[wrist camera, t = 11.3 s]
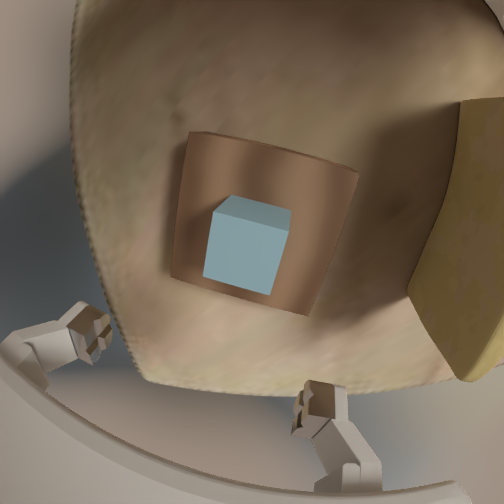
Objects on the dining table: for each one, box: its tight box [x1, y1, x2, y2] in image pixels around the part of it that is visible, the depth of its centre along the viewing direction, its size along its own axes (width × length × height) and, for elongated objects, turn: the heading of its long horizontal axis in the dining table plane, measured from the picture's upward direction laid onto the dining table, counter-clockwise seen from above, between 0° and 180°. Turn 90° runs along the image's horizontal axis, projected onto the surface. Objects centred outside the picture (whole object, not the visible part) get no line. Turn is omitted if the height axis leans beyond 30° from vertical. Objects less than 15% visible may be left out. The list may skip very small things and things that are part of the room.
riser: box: [171, 132, 360, 316], centre depth 25 cm, size 14×14×4 cm
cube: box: [203, 195, 291, 295], centre depth 21 cm, size 5×5×5 cm
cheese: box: [407, 97, 504, 382], centre depth 16 cm, size 22×10×15 cm, turn 160°
